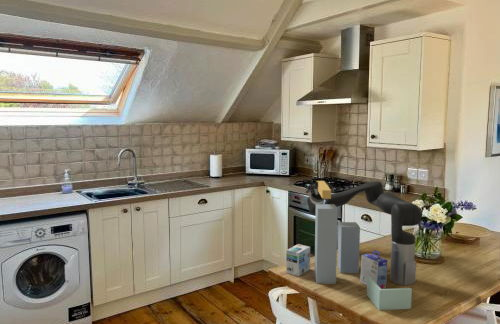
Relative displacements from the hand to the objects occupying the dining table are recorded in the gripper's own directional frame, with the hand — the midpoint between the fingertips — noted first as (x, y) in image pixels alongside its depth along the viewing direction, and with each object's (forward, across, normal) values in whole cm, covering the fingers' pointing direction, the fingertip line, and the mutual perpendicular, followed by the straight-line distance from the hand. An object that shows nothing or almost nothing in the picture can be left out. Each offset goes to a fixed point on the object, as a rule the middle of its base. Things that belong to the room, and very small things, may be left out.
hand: (322, 183), depth 180 cm
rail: (+3, 0, +5) cm, 6 cm away
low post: (-17, +12, +35) cm, 41 cm away
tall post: (-7, 0, +41) cm, 42 cm away
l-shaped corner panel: (+10, +21, +51) cm, 56 cm away
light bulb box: (-14, -11, +37) cm, 41 cm away
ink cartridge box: (-2, +19, +44) cm, 48 cm away
